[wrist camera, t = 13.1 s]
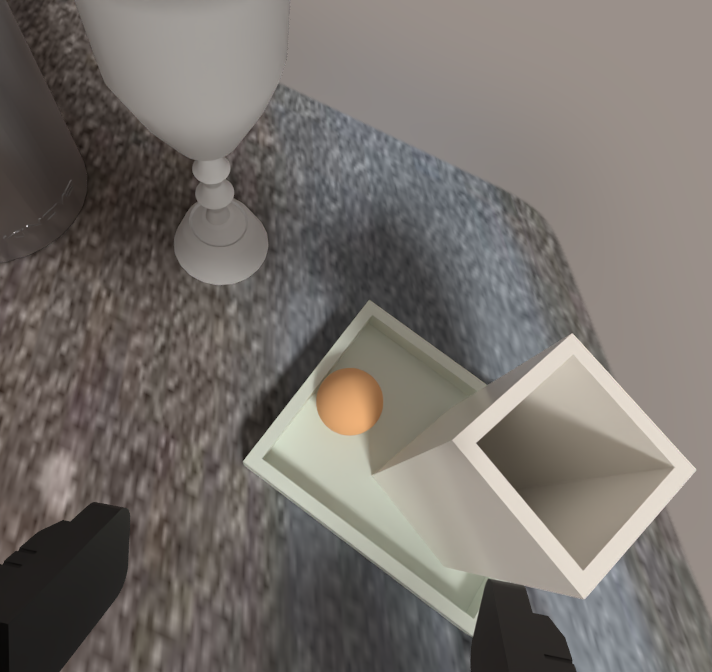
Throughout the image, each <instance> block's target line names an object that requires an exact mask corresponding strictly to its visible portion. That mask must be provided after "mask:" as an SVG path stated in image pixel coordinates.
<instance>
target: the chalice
mask: <svg viewBox="0 0 712 672" xmlns="http://www.w3.org/2000/svg"><path fill="white" fill-rule="evenodd" d="M74 1H75V4H76V6H77V9H78V12H79V15H80V18H81V20H82V23H83V26H84V29H85V32H86V35H87V37H88V40H89V43H90V46H91V49H92V51H93V54H94V57H95V60H96V62H97V65H98V67H99V70H100V72H101V75H102V77H103V80H104V82H105V84H106V85H107V87H108V88H109V89H110V90H111V91H112V92H113V93H114V94H115V95H116V96H117V97H118V98H119V100H120V101H121V102H122V103H123V104H124V105H125V106H126V107H127V108H128V109H129V110H130V111H131V113H132V114H133V115H134V116H135V117H136V118H137V119H138V120H139V121H140V122H141V123H142V124H143V125H144V126H145V127H146V128H147V129H148V130H149V131H150V132H151V133H152V134H154V135H155V136H157V137H158V138H159V139H161V140H162V141H164V142H165V143H166V144H168V145H169V146H171V147H172V148H174V149H175V150H176V151H178V152H179V153H181V154H182V155H184V156H186V157H188V158H190V159H194V160H195V161H194V163H193V166H192V172H193V174H194V176H195V177H196V179H197V180H198V181H200V183H199V184H198V186H197V188H196V191H195V197H196V199H197V201H198V202H197V203H195V204H194V205H192V206H191V207H190V209H189V210H188V211H187V213H186V214H185V217H184V218H183V219H182V222H181V223H180V225H179V226H178V228H177V231H176V234H175V237H174V250H175V255H176V257H177V259H178V261H179V263H180V265H181V266H182V267H183V268H184V269H185V270H186V271H187V273H188V274H189V275H191V276H192V277H194V278H196V279H198V280H200V281H202V282H205V283H210V284H215V285H226V284H234V283H237V282H239V281H242V280H245V279H247V278H248V277H250V276H251V275H252V274H254V273H255V272H256V271H257V270H258V269H259V268H260V266H261V265H262V263H263V262H264V260H265V259H266V255H267V250H268V246H269V245H268V237H267V232H266V230H265V228H264V226H263V224H262V222H261V221H260V220H259V219H258V218H257V217H256V216H255V215H254V214H253V213H252V212H251V211H250V210H249V209H248V208H247V207H246V206H245V205H244V204H243V203H242V202H240V201H238V200H236V199H234V198H233V197H234V188H233V186H232V184H231V183H230V182H229V181H228V180H226V178H227V176H228V175H229V172H230V164H229V162H228V160H227V159H226V158H225V156H226V155H228V154H229V153H231V152H232V151H234V149H235V148H236V147H237V146H238V144H239V143H240V142H241V140H242V139H243V138H244V137H245V135H246V134H247V133H248V132H249V130H250V129H251V128H252V127H253V125H254V124H255V123H256V122H257V120H258V119H259V118H260V116H261V115H262V114H263V112H264V111H265V109H266V107H267V105H268V103H269V101H270V99H271V97H272V95H273V93H274V91H275V89H276V87H277V85H278V83H279V81H280V79H281V76H282V73H283V69H284V66H285V63H286V60H287V50H288V30H289V14H290V0H74Z"/></svg>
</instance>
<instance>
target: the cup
mask: <svg viewBox="0 0 712 672" xmlns="http://www.w3.org/2000/svg"><path fill="white" fill-rule="evenodd" d="M695 471H696V469H695V468H694V467H693V465H692V464H691V463H690V462H689V461H688V460H687V459H686V458H685V457H684V456H683V455H682V453H681V452H680V451H679V450H678V449H677V448H676V447H675V446H674V445H673V443H672V442H671V441H670V440H669V439H668V438H667V437H666V436H665V435H664V434H663V432H662V431H661V430H660V429H659V428H658V427H657V426H656V425H655V424H654V423H653V421H652V420H651V419H650V418H649V417H648V416H647V415H646V414H645V413H644V412H643V411H642V409H641V408H640V407H639V406H638V405H637V404H636V403H635V402H634V401H633V399H632V398H631V397H630V396H629V395H628V394H627V393H626V392H625V391H624V390H623V388H622V387H621V386H620V385H619V384H618V383H617V382H616V381H615V380H614V378H613V377H612V376H611V375H610V374H609V373H608V372H607V371H606V370H605V369H604V367H603V366H602V365H601V364H600V363H599V362H598V361H597V360H596V359H595V358H594V356H593V355H592V354H591V353H590V352H589V351H588V350H587V349H586V348H585V347H584V345H583V344H582V343H581V342H580V341H579V340H578V339H577V338H576V337H575V336H574V334H573V333H572V334H570V335H568V336H567V337H565V338H563V339H562V340H560V341H558V342H557V343H555V344H554V345H552V346H550V347H549V348H547V349H545V350H544V351H542V352H541V353H539V354H537V355H536V356H534V357H532V358H531V359H529V360H528V361H526V362H524V363H523V364H521V365H519V366H518V367H516V368H515V369H513V370H511V371H510V372H508V373H506V374H505V375H503V376H502V377H500V378H498V379H497V380H495V381H493V382H492V383H490V384H489V385H487V386H485V387H484V388H482V389H480V390H479V391H477V392H476V393H474V394H472V395H471V396H469V397H467V398H466V399H464V400H463V401H461V402H459V403H458V404H456V405H454V406H453V407H451V408H450V409H448V410H447V411H446V412H445V413H444V414H443V415H441V416H440V417H439V418H438V419H437V420H436V421H435V422H433V423H432V424H431V425H430V426H429V427H428V428H426V429H425V430H424V431H423V432H422V433H421V434H419V435H418V436H417V437H416V438H415V439H414V440H412V441H411V442H410V443H409V444H408V445H407V446H406V447H404V448H403V449H402V450H401V451H400V452H399V453H397V454H396V455H395V456H394V457H393V458H392V459H390V460H389V461H388V462H387V463H386V464H385V465H383V466H382V467H381V468H380V469H379V470H378V471H377V472H375V473H374V474H373V475H372V476H373V478H374V479H375V480H376V482H377V483H378V484H379V485H380V487H381V488H382V489H383V490H384V492H385V493H386V494H387V495H388V497H389V498H390V499H391V500H392V502H393V503H394V504H395V505H396V507H397V508H398V509H399V511H400V512H401V513H402V514H403V516H404V517H405V518H406V519H407V521H408V522H409V523H410V524H411V526H412V527H413V528H414V529H415V531H416V532H417V533H418V534H419V536H420V537H421V538H422V540H423V541H424V542H425V543H426V545H427V546H428V547H429V548H430V550H431V551H432V552H433V553H434V555H435V556H436V557H437V558H438V560H439V561H440V562H441V563H442V565H443V566H444V567H447V568H451V569H455V570H459V571H464V572H468V573H472V574H477V575H481V576H485V577H490V578H494V579H498V580H503V581H507V582H511V583H516V584H520V585H524V586H528V587H533V588H537V589H541V590H546V591H550V592H554V593H559V594H563V595H567V596H572V597H576V598H580V599H585V598H586V597H587V596H588V595H589V594H590V593H591V591H592V590H593V589H594V588H595V587H596V586H597V584H598V583H599V582H600V581H601V580H602V579H603V577H604V576H605V575H606V574H607V573H608V572H609V571H610V569H611V568H612V567H613V566H614V565H615V564H616V562H617V561H618V560H619V559H620V558H621V557H622V555H623V554H624V553H625V552H626V551H627V550H628V549H629V547H630V546H631V545H632V544H633V543H634V542H635V540H636V539H637V538H638V537H639V536H640V535H641V534H642V532H643V531H644V530H645V529H646V528H647V527H648V525H649V524H650V523H651V522H652V521H653V520H654V518H655V517H656V516H657V515H658V514H659V513H660V512H661V510H662V509H663V508H664V507H665V506H666V505H667V503H668V502H669V501H670V500H671V499H672V498H673V496H674V495H675V494H676V493H677V492H678V491H679V489H680V488H681V487H682V486H683V485H684V484H685V483H686V481H687V480H688V479H689V478H690V477H691V476H692V474H693V473H694V472H695Z"/></svg>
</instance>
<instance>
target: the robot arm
mask: <svg viewBox="0 0 712 672" xmlns="http://www.w3.org/2000/svg"><path fill="white" fill-rule="evenodd" d="M86 193H87V172H86V168H85V164H84V161H83V159H82V156H81V154H80V152H79V150H78V148H77V146H76V144H75V142H74V140H73V138H72V136H71V134H70V132H69V130H68V128H67V125H66V123H65V121H64V119H63V117H62V115H61V113H60V111H59V108H58V106H57V104H56V102H55V100H54V98H53V96H52V94H51V92H50V89H49V87H48V85H47V83H46V81H45V79H44V77H43V75H42V73H41V71H40V69H39V67H38V65H37V63H36V61H35V59H34V57H33V55H32V52H31V50H30V48H29V46H28V44H27V42H26V40H25V38H24V36H23V34H22V32H21V30H20V28H19V26H18V24H17V22H16V20H15V17H14V15H13V13H12V11H11V9H10V7H9V5H8V3H7V1H6V0H0V262H7V261H11V260H14V259H17V258H21V257H24V256H28V255H30V254H32V253H34V252H36V251H38V250H40V249H42V248H44V247H46V246H47V245H49V244H50V243H51V242H53V241H54V240H56V239H57V238H58V237H60V236H61V235H62V234H63V233H64V232H65V231H66V230H67V229H68V228H69V226H70V225H71V224H72V223H73V222H74V221H75V219H76V217H77V215H78V214H79V212H80V210H81V209H82V207H83V203H84V200H85V196H86ZM129 531H130V513H129V510H128V509H127V508H123V507H118V506H113V505H108V504H103V503H97V502H93V503H91V504H89V505H88V506H87V507H86V508H85V509H84V510H83V511H82V512H80V513H79V514H78V515H77V516H76V517H75V518H74V519H73V520H72V521H71V522H69V521H64V520H62V521H60V522H58V523H56V524H54V525H52V526H50V527H47V528H45V529H43V530H41V531H39V532H37V533H36V534H35V535H34V536H33V537H32V538H30V539H29V540H28V541H27V542H26V543H25V544H23V545H22V546H21V547H20V549H19V551H15V552H14V553H13V554H12V555H11V556H9V557H8V558H7V559H6V560H5V561H4V563H3V565H1V564H0V672H60V670H61V669H62V668H63V667H64V665H65V664H66V663H67V661H68V660H69V659H70V658H71V656H72V655H73V654H74V652H75V651H76V650H77V648H78V647H79V646H80V645H81V643H82V642H83V641H84V639H85V638H86V637H87V635H88V634H89V633H90V632H91V630H92V629H93V628H94V626H95V625H96V624H97V623H98V621H99V620H100V619H101V617H102V616H103V615H104V613H105V612H106V611H107V610H108V608H109V607H110V606H111V604H112V603H113V602H114V600H115V599H116V598H117V596H118V595H119V593H120V591H121V589H122V587H123V584H124V582H125V578H126V575H127V570H128V553H129ZM471 672H576V669H575V666H574V664H572V657H571V654H570V651H569V648H568V645H567V642H566V639H565V637H564V636H563V634H562V633H561V632H560V631H559V629H558V628H557V627H556V626H555V624H554V623H553V622H552V620H551V619H550V618H549V617H548V616H545V615H540V614H535V613H532V609H531V606H530V602H529V599H528V595H527V591H526V588H525V587H524V585H520V584H515V583H510V582H505V581H500V580H495V579H488V580H487V581H486V584H485V588H484V592H483V596H482V600H481V604H480V609H479V613H478V617H477V621H476V626H475V630H474V634H473V639H472V646H471Z"/></svg>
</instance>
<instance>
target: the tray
mask: <svg viewBox="0 0 712 672" xmlns="http://www.w3.org/2000/svg"><path fill="white" fill-rule="evenodd" d="M344 368H356V369H360V370H363V371H365V372H367V373H368V374H370V375H371V376H372V377H373V378H374V379H375V380H376V381H377V383H378V384H379V386H380V388H381V391H382V394H383V409H382V413H381V415H380V417H379V419H378V421H377V422H376V423H375V425H374V426H373V427H372V428H370V429H369V430H367V431H365V432H364V433H361V434H358V435H351V436H349V435H341V434H338V433H336V432H334V431H332V430H331V429H329V428H328V427H327V426H326V425H325V424H324V423H323V422H322V420H321V418H320V416H319V414H318V411H317V407H316V397H317V392H318V389H319V387H320V385H321V384H322V382H323V381H324V380H325V378H326V377H327V376H329V375H330V374H331V373H333V372H335V371H337V370H340V369H344ZM485 386H487V384H485V383H484V382H482V381H481V380H480V379H478V378H477V377H476V376H474V375H473V374H471V373H470V372H469V371H467V370H466V369H464V368H463V367H462V366H460V365H459V364H458V363H456V362H455V361H453V360H452V359H451V358H449V357H448V356H446V355H445V354H444V353H442V352H441V351H440V350H438V349H437V348H435V347H434V346H433V345H431V344H430V343H429V342H427V341H426V340H424V339H423V338H422V337H420V336H419V335H417V334H416V333H415V332H413V331H412V330H411V329H409V328H408V327H406V326H405V325H404V324H402V323H401V322H399V321H398V320H397V319H395V318H394V317H393V316H391V315H390V314H388V313H387V312H386V311H384V310H383V309H381V308H380V307H379V306H377V305H376V304H375V303H373V302H372V301H370V300H369V301H368V302H367V303H366V304H365V306H364V307H363V308H362V310H361V311H360V312H359V313H358V315H357V316H356V317H355V318H354V320H353V321H352V322H351V324H350V325H349V326H348V327H347V329H346V330H345V331H344V333H343V334H342V335H341V336H340V338H339V339H338V340H337V342H336V343H335V344H334V345H333V347H332V348H331V349H330V351H329V352H328V353H327V354H326V356H325V357H324V358H323V359H322V361H321V362H320V363H319V365H318V366H317V367H316V368H315V370H314V371H313V372H312V374H311V375H310V376H309V377H308V379H307V380H306V381H305V383H304V384H303V385H302V386H301V388H300V389H299V390H298V392H297V393H296V394H295V395H294V397H293V398H292V399H291V400H290V402H289V403H288V404H287V406H286V407H285V408H284V409H283V411H282V412H281V413H280V415H279V416H278V417H277V418H276V420H275V421H274V422H273V424H272V425H271V426H270V427H269V429H268V430H267V431H266V433H265V434H264V435H263V436H262V438H261V439H260V440H259V442H258V443H257V444H256V445H255V447H254V448H253V449H252V450H251V452H250V453H249V454H248V456H247V457H246V458H245V459H244V461H243V463H244V466H246V467H247V468H248V469H249V470H251V471H252V472H253V473H255V474H256V475H257V476H259V477H260V478H261V479H263V480H264V481H265V482H267V483H268V484H269V485H271V486H272V487H273V488H274V489H276V490H277V491H278V492H280V493H281V494H282V495H284V496H285V497H286V498H288V499H289V500H290V501H292V502H293V503H294V504H296V505H297V506H298V507H299V508H301V509H302V510H303V511H305V512H306V513H307V514H309V515H310V516H311V517H313V518H314V519H315V520H317V521H318V522H319V523H321V524H322V525H323V526H324V527H326V528H327V529H328V530H330V531H331V532H332V533H334V534H335V535H336V536H338V537H339V538H340V539H342V540H343V541H344V542H346V543H347V544H348V545H349V546H351V547H352V548H353V549H355V550H356V551H357V552H359V553H360V554H361V555H363V556H364V557H365V558H367V559H368V560H369V561H370V562H372V563H373V564H374V565H376V566H377V567H378V568H380V569H381V570H382V571H384V572H385V573H386V574H388V575H389V576H390V577H392V578H393V579H394V580H395V581H397V582H398V583H399V584H401V585H402V586H403V587H405V588H406V589H407V590H409V591H410V592H411V593H413V594H414V595H415V596H417V597H418V598H419V599H420V600H422V601H423V602H424V603H426V604H427V605H428V606H430V607H431V608H432V609H434V610H435V611H436V612H438V613H439V614H440V615H442V616H443V617H444V618H445V619H447V620H448V621H449V622H451V623H452V624H453V625H455V626H456V627H457V628H459V629H460V630H461V631H463V632H464V633H466V634H467V635H469V636H471V637H473V634H474V630H475V626H476V621H477V617H478V613H479V609H480V604H481V600H482V596H483V592H484V588H485V584H486V581H487V580H488V579H494V578H490V577H485V576H481V575H477V574H472V573H468V572H464V571H459V570H455V569H451V568H447V567H444V566H443V565H442V563H441V562H440V561H439V560H438V558H437V557H436V556H435V555H434V553H433V552H432V551H431V550H430V548H429V547H428V546H427V545H426V543H425V542H424V541H423V540H422V538H421V537H420V536H419V534H418V533H417V532H416V531H415V529H414V528H413V527H412V526H411V524H410V523H409V522H408V521H407V519H406V518H405V517H404V516H403V514H402V513H401V512H400V511H399V509H398V508H397V507H396V505H395V504H394V503H393V502H392V500H391V499H390V498H389V497H388V495H387V494H386V493H385V492H384V490H383V489H382V488H381V487H380V485H379V484H378V483H377V482H376V480H375V479H374V478H373V476H372V475H373V474H374V473H375V472H377V471H378V470H379V469H380V468H381V467H382V466H383V465H385V464H386V463H387V462H388V461H389V460H390V459H392V458H393V457H394V456H395V455H396V454H397V453H399V452H400V451H401V450H402V449H403V448H404V447H406V446H407V445H408V444H409V443H410V442H411V441H412V440H414V439H415V438H416V437H417V436H418V435H419V434H421V433H422V432H423V431H424V430H425V429H426V428H428V427H429V426H430V425H431V424H432V423H433V422H435V421H436V420H437V419H438V418H439V417H440V416H441V415H443V414H444V413H445V412H446V411H447V410H448V409H450V408H451V407H453V406H454V405H456V404H458V403H459V402H461V401H463V400H464V399H466V398H467V397H469V396H471V395H472V394H474V393H476V392H477V391H479V390H480V389H482V388H484V387H485ZM495 580H498V579H495ZM500 581H503V580H500ZM505 582H507V581H505Z"/></svg>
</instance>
